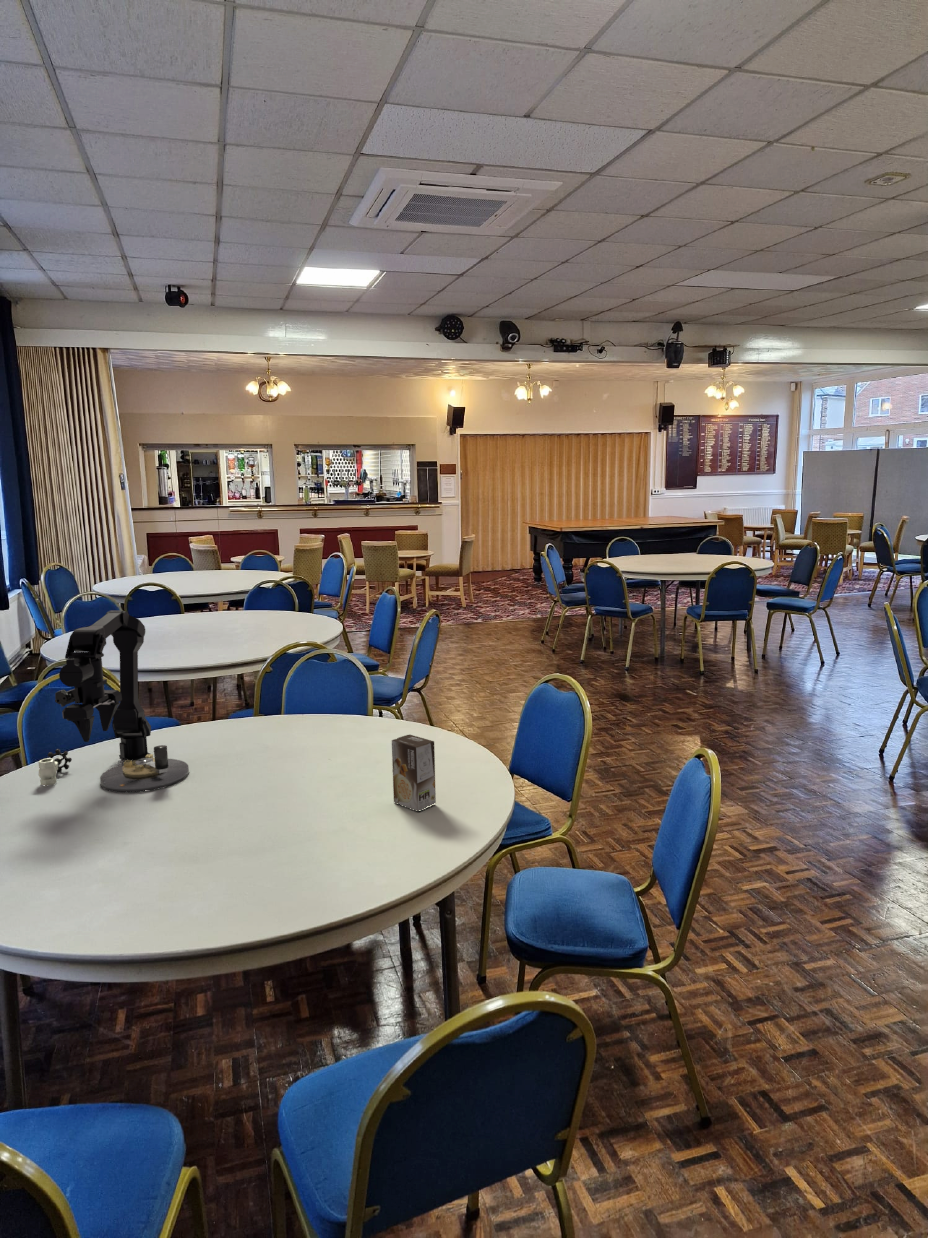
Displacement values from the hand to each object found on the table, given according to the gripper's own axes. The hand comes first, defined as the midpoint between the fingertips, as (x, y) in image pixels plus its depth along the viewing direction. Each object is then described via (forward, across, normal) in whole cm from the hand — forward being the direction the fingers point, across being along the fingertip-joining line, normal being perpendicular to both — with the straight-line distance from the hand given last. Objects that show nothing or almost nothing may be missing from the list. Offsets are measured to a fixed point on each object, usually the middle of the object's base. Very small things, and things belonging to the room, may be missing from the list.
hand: (96, 736), depth 203 cm
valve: (+14, -4, -15) cm, 21 cm away
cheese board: (+11, -4, +11) cm, 17 cm away
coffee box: (+13, +10, +84) cm, 86 cm away
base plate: (+13, -6, +9) cm, 17 cm away
